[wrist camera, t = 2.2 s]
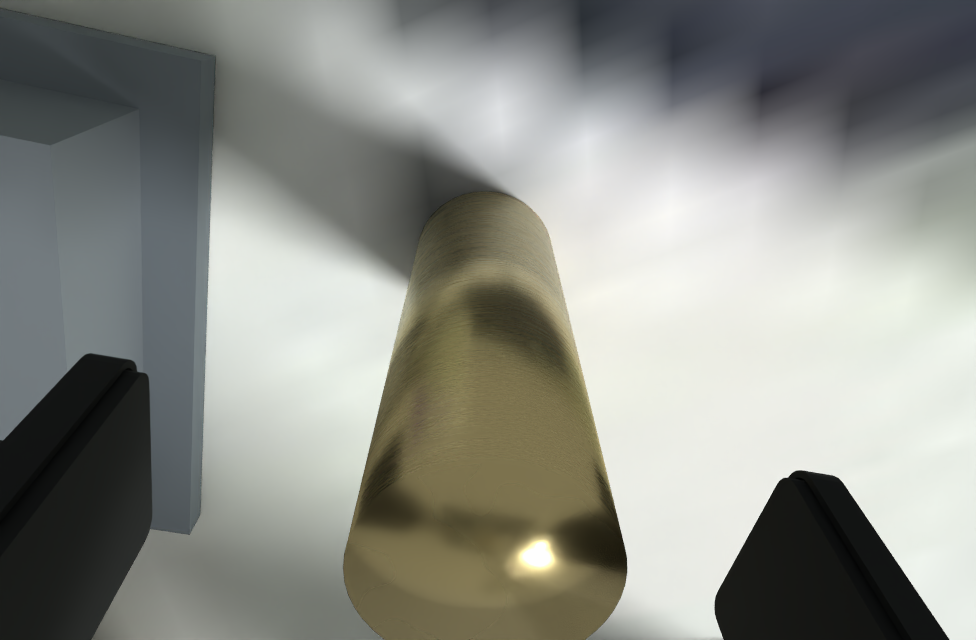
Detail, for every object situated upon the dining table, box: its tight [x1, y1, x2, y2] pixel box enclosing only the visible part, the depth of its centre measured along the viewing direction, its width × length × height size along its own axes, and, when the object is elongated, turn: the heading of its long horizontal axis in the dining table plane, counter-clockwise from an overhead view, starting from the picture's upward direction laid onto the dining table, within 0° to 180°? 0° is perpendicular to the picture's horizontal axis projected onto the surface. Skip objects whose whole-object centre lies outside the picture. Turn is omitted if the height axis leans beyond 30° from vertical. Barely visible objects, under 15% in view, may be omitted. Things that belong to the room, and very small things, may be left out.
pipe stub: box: [343, 192, 627, 640], centre depth 15 cm, size 4×4×12 cm
